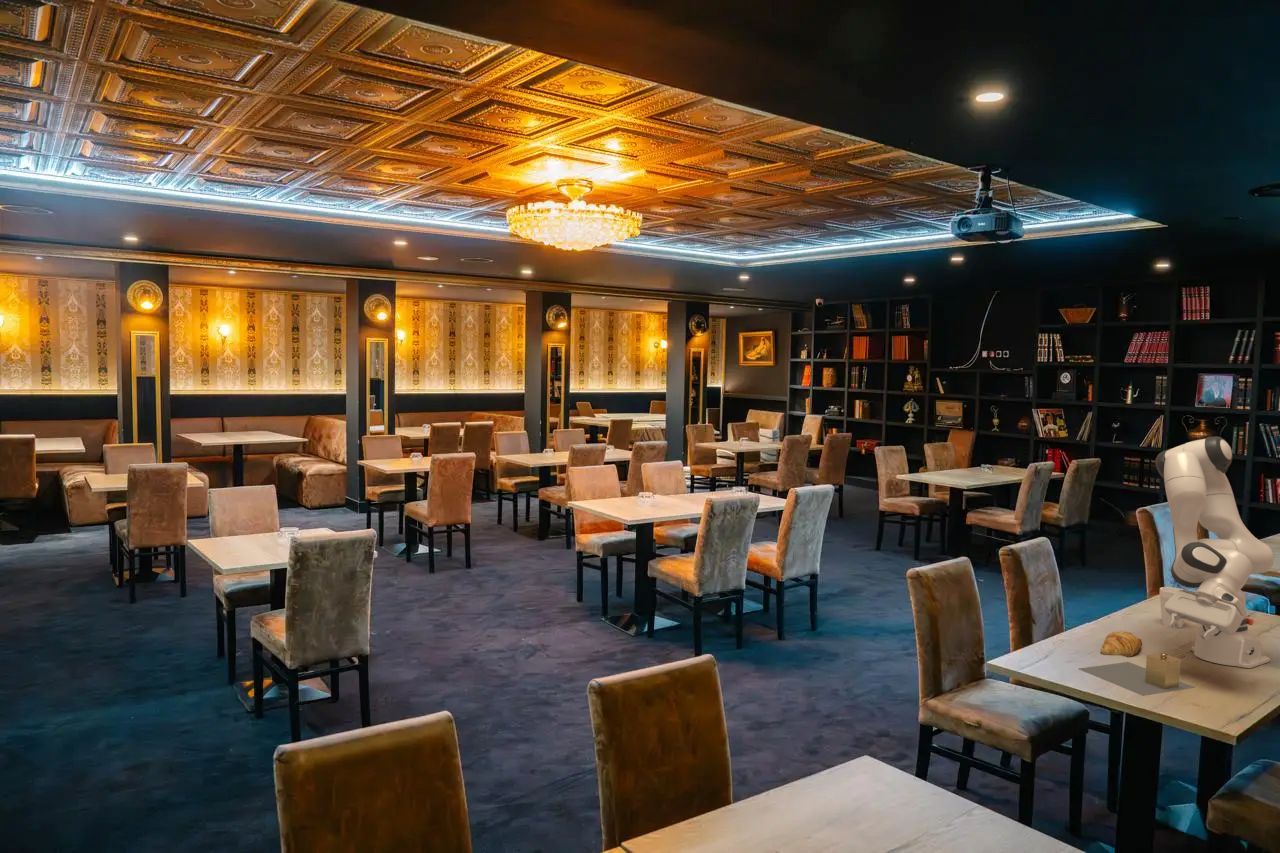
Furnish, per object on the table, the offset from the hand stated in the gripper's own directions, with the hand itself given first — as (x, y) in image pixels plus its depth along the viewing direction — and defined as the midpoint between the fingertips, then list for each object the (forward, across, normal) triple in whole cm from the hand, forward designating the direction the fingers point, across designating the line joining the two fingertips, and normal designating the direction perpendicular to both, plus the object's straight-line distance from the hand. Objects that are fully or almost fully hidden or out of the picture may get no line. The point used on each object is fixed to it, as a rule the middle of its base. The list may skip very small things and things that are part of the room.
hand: (1187, 632), depth 248 cm
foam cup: (-25, -42, +49) cm, 69 cm away
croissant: (+7, -27, +17) cm, 32 cm away
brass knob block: (+17, 0, +4) cm, 17 cm away
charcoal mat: (+20, -6, +2) cm, 21 cm away
